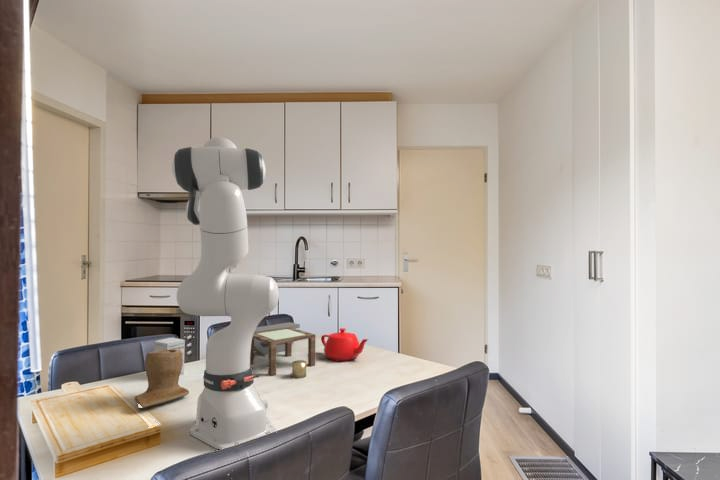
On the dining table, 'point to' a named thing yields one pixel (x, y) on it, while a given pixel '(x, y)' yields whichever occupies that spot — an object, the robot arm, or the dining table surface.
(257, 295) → the robot arm
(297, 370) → the cylinder
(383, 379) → the dining table surface
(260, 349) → the grey anvil
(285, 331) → the trapdoor
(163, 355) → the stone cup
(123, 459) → the dining table surface
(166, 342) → the supplement box
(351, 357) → the teapot
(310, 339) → the frame
